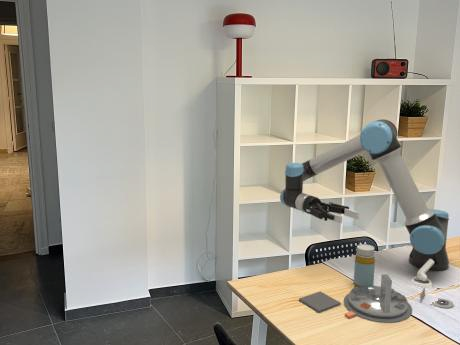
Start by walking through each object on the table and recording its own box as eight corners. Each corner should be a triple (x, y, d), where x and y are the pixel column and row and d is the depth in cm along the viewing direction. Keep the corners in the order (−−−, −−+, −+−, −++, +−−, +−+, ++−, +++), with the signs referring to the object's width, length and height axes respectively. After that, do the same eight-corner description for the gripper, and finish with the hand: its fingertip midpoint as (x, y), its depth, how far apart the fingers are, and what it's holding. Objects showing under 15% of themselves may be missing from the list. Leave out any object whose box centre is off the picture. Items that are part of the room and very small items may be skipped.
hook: (450, 273, 163) (440, 266, 160) (428, 297, 165) (417, 291, 162) (436, 262, 170) (426, 254, 166) (415, 285, 172) (405, 278, 168)
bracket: (452, 311, 147) (452, 301, 147) (419, 303, 153) (420, 294, 152) (454, 303, 153) (455, 294, 152) (423, 296, 158) (424, 287, 157)
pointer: (351, 313, 146) (351, 310, 145) (355, 316, 144) (355, 313, 144) (344, 316, 144) (344, 313, 144) (349, 319, 142) (349, 316, 142)
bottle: (359, 279, 171) (361, 242, 168) (376, 285, 166) (379, 247, 163) (350, 285, 166) (352, 247, 163) (367, 291, 161) (369, 252, 158)
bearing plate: (373, 285, 166) (373, 284, 166) (426, 310, 147) (426, 309, 147) (330, 300, 154) (330, 299, 154) (382, 330, 136) (382, 329, 136)
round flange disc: (342, 290, 160) (344, 256, 158) (395, 291, 160) (398, 256, 157) (356, 318, 142) (358, 280, 139) (416, 318, 141) (419, 280, 139)
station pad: (320, 293, 160) (320, 291, 160) (340, 304, 151) (340, 302, 151) (298, 300, 154) (298, 298, 154) (318, 313, 146) (319, 310, 146)
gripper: (326, 208, 193) (368, 222, 174) (289, 216, 182) (329, 232, 163) (327, 192, 191) (369, 204, 172) (289, 199, 180) (330, 212, 161)
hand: (349, 217), depth 168 cm, fingers open, 8 cm apart
